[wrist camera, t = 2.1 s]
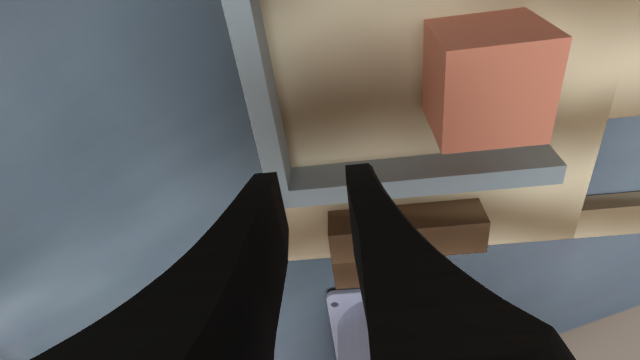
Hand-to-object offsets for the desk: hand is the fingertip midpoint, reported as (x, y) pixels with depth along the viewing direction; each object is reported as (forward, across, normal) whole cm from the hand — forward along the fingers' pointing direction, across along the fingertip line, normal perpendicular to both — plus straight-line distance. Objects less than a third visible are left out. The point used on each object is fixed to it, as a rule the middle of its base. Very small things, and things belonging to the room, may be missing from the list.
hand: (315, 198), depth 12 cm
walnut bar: (+9, -4, +8) cm, 13 cm away
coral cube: (+9, -6, 0) cm, 11 cm away
